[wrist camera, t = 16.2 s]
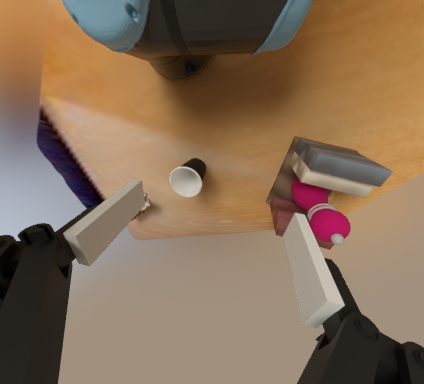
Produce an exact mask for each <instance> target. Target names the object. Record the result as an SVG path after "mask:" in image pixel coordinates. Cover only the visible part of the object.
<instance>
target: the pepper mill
mask: <svg viewBox="0 0 424 384" xmlns="http://www.w3.org/2000/svg"><path fill="white" fill-rule="evenodd" d="M291 190H292V192H293V193H292V196H293V199H294V201H295V203H296V204H297V205H298V206H300V207H301V208H303V209H305V210H307V211H308V219H309V221H310V228H311V230H312V232H313V234H314V235H315V236H316V237H317V238H318V239H320V240H322V241H324V242H330V243H334V244H337V245H340V244H342V243H343V242H344V239H345V238H346V237H347V236H348V234H349V232H350V223H349V221H348V219H347V218H346V216H344V215H343V214H342V213H340V212H338V211H337V210H336V209H335V208H334V207H333V206H332V205H330V204H328V193H327V189H326V188H323V187H319V186H314V185H310V184H306V183H302V182H301V181H300V180H299V178H296V179H295V180H294V181H293V183H292V185H291Z"/></svg>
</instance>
